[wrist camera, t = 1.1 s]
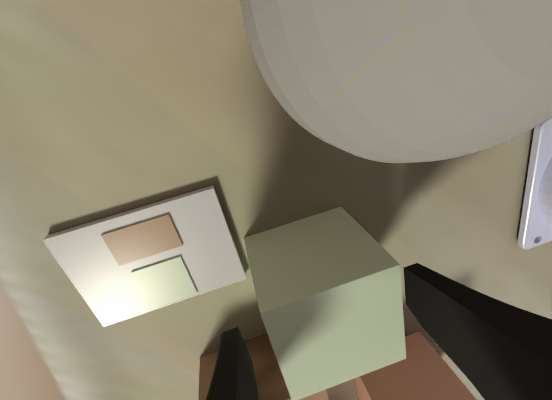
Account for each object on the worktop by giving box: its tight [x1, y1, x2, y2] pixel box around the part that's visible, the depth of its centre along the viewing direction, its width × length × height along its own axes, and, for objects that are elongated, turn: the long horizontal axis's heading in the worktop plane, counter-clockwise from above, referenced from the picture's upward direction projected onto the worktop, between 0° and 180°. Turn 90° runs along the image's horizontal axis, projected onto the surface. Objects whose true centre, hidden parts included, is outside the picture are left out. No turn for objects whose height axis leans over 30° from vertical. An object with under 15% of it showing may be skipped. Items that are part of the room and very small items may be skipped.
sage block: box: [244, 206, 406, 400], centre depth 13 cm, size 5×5×5 cm
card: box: [43, 185, 246, 327], centre depth 13 cm, size 7×5×1 cm
